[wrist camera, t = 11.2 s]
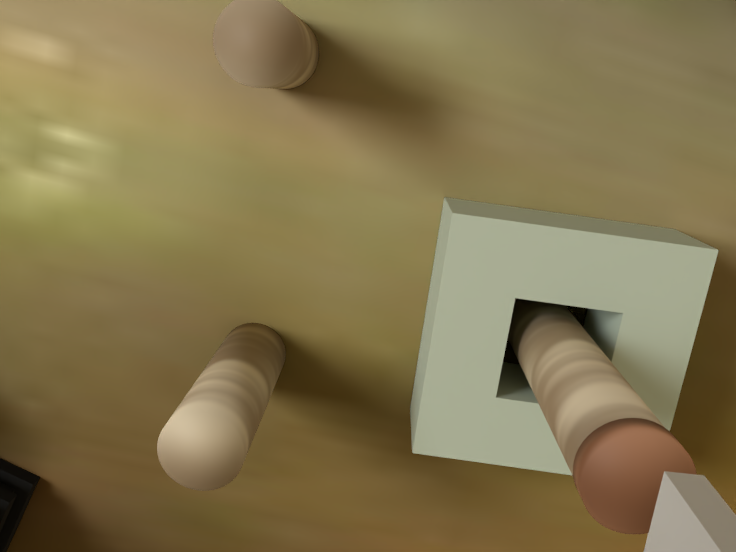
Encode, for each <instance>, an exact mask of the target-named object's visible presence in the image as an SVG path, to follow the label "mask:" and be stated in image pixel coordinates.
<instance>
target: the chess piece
mask: <svg viewBox="0 0 736 552" xmlns="http://www.w3.org/2000/svg"><path fill="white" fill-rule="evenodd" d="M39 478H40V477H39V476H36V475H34V474H32V473H30V472H28V471H26V470H24V469H22V468H19V467H17V466H15V465H13V464H11V463H9V462H7V461H5V460H2V459H0V552H6V551H7V549H8V547H9V545H10V542H11V540H12V538H13V536H14V534H15V531H16V529H17V527H18V525H19V522H20V520H21V518H22V516H23V514H24V511H25V509H26V507H27V505H28V503H29V500H30V498H31V496H32V494H33V491H34V489H35V487H36V485H37V483H38V480H39Z"/></svg>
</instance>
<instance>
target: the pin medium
mask: <svg viewBox="0 0 736 552" xmlns="http://www.w3.org/2000/svg"><path fill="white" fill-rule="evenodd" d="M285 358H286V351H285V346H284V343H283V341H282V339H281V338H280V336H279V335H278V334H277V333H276V332H275V331H274V330H273V329H271V328H269V327H267V326H265V325H262V324H258V323H247V324H243V325H240V326H238V327H236V328H235V329H233V330H232V331H231V332H230V333H229V334H228V336H227V337H226V339H225V340H224V342H223V343H222V344H221V346H220V347H219V349H218V350H217V352H216V353H215V355H214V356H213V357H212V359H211V360H210V362H209V363H208V365H207V366H206V367H205V369H204V370H203V372H202V373H201V375H200V376H199V378H198V379H197V380H196V382H195V383H194V385H193V386H192V388H191V389H190V390H189V392H188V393H187V395H186V396H185V398H184V399H183V401H182V402H181V403H180V405H179V406H178V408H177V409H176V411H175V412H174V413H173V415H172V416H171V418H170V419H169V421H168V422H167V424H166V425H165V426H164V428H163V429H162V431H161V433H160V435H159V439H158V444H157V452H158V457H159V461H160V463H161V465H162V467H163V469H164V470H165V472H166V473H167V474H168V475H169V476H170V477H171V478H172V479H173V480H174V481H176V482H177V483H179V484H181V485H182V486H185V487H187V488H190V489H194V490H202V491H206V490H214V489H218V488H221V487H223V486H225V485H227V484H228V483H230V482H231V481H232V480H233V479H234V478H235V477H236V476H237V474H238V473H239V471H240V469H241V467H242V465H243V462H244V460H245V458H246V455H247V453H248V450H249V448H250V445H251V443H252V441H253V438H254V436H255V433H256V431H257V429H258V426H259V424H260V421H261V419H262V416H263V414H264V412H265V409H266V407H267V404H268V402H269V399H270V397H271V395H272V392H273V390H274V387H275V385H276V382H277V380H278V378H279V375H280V373H281V370H282V368H283V365H284V362H285Z"/></svg>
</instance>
